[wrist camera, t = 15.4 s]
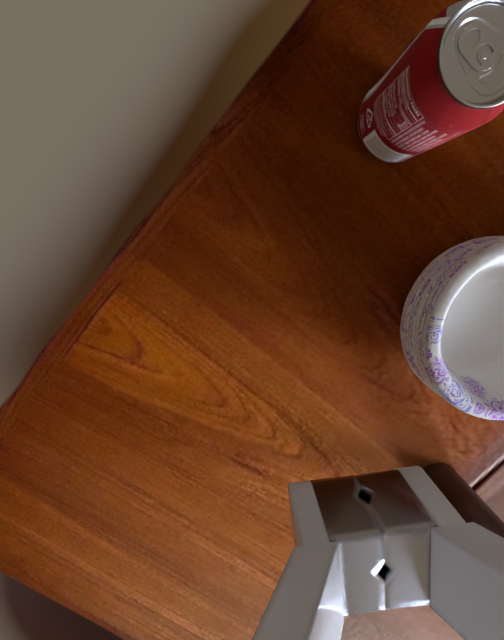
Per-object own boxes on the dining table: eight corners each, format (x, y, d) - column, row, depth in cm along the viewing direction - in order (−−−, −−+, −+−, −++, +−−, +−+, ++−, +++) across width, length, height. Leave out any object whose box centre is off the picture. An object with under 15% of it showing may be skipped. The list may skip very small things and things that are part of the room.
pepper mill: (408, 474, 39) (500, 602, 25) (450, 456, 38) (566, 576, 25) (422, 507, 40) (517, 647, 26) (462, 490, 39) (581, 623, 26)
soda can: (389, 181, 31) (479, 147, 20) (338, 125, 30) (402, 53, 18) (446, 121, 30) (576, 47, 19) (395, 60, 29) (501, -59, 17)
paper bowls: (564, 284, 34) (659, 298, 26) (471, 407, 37) (533, 451, 29) (444, 204, 32) (510, 194, 24) (355, 342, 35) (388, 371, 27)
